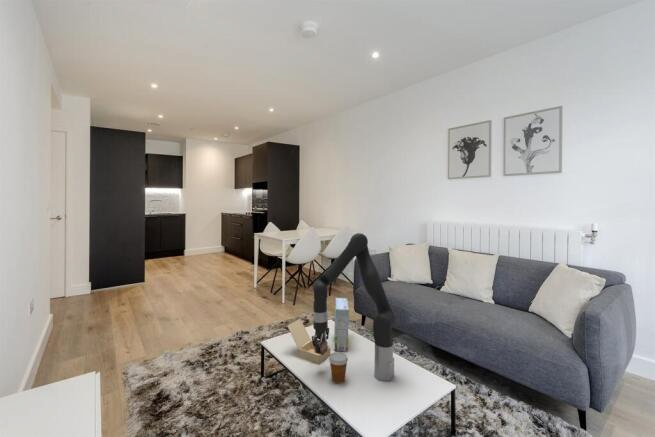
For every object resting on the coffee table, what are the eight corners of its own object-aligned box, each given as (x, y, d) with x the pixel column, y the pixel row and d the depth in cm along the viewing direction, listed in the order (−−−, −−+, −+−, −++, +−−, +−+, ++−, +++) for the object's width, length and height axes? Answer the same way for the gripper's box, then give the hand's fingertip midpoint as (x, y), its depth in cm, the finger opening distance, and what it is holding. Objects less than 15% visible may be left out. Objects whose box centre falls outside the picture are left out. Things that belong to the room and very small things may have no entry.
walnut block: (327, 350, 161) (327, 341, 160) (322, 355, 156) (322, 345, 156) (319, 348, 163) (319, 339, 163) (314, 352, 159) (314, 343, 159)
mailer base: (330, 354, 177) (330, 346, 177) (318, 364, 167) (318, 355, 166) (311, 348, 184) (311, 340, 184) (298, 357, 174) (298, 348, 174)
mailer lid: (300, 318, 188) (299, 318, 188) (287, 325, 178) (287, 325, 178) (310, 339, 184) (310, 339, 184) (298, 347, 174) (298, 348, 174)
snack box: (349, 351, 180) (349, 309, 179) (334, 351, 181) (334, 309, 179) (347, 335, 202) (347, 297, 200) (334, 335, 202) (334, 297, 201)
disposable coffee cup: (332, 386, 147) (332, 362, 146) (326, 375, 156) (326, 353, 156) (350, 383, 150) (350, 360, 149) (344, 372, 159) (344, 350, 158)
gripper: (321, 313, 167) (322, 343, 168) (306, 322, 155) (307, 355, 155) (333, 315, 163) (334, 346, 164) (319, 325, 151) (319, 358, 152)
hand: (321, 350), depth 160 cm, fingers closed on walnut block, 5 cm apart
